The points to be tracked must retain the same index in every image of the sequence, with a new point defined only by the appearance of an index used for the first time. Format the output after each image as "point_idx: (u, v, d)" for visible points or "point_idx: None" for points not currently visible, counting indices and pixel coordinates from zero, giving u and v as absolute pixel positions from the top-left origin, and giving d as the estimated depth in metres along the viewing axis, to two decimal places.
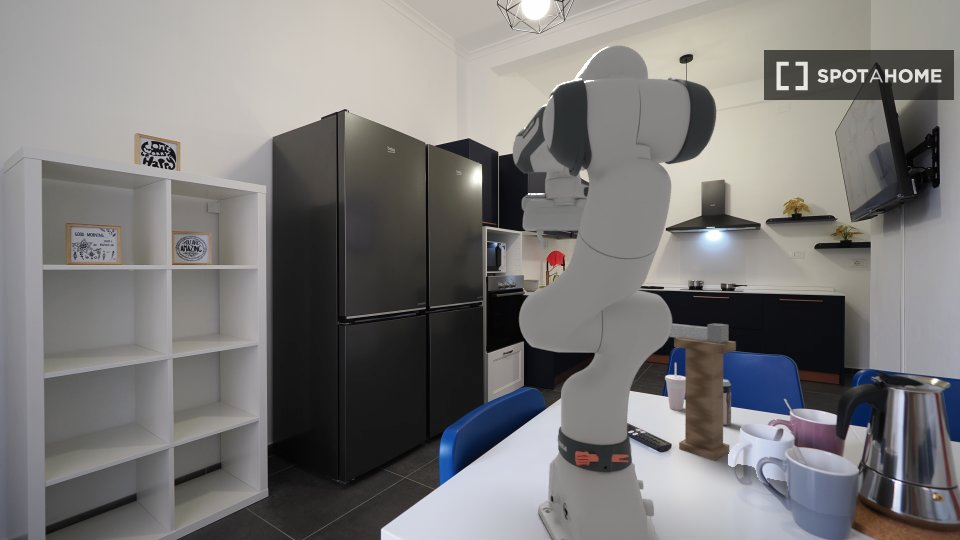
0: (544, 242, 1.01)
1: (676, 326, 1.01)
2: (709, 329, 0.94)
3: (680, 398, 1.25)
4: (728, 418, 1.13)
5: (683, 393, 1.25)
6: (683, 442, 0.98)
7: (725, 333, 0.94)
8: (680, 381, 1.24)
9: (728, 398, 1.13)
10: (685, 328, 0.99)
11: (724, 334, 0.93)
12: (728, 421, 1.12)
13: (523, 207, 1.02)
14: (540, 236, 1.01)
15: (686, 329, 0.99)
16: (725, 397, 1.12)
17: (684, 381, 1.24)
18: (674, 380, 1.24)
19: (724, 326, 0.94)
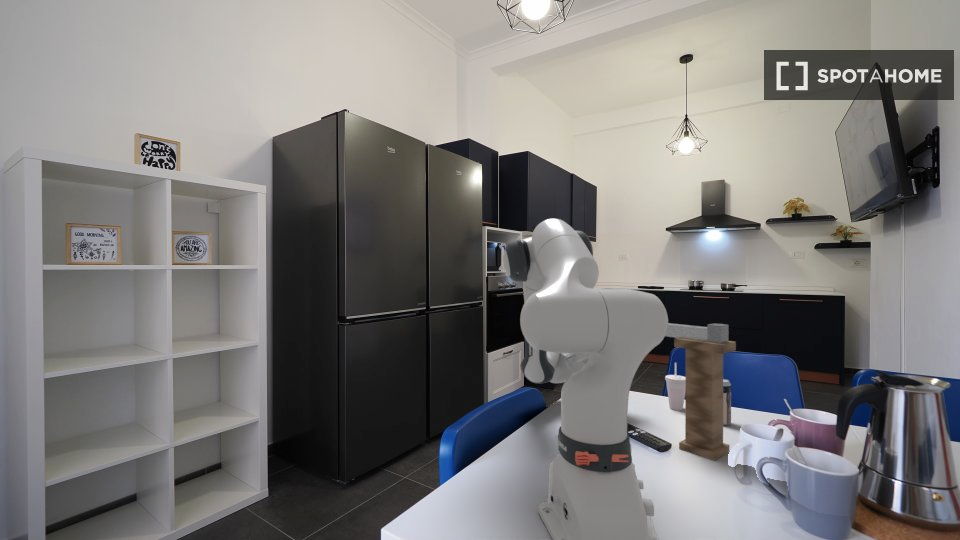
0: None
1: (676, 326, 1.01)
2: (709, 329, 0.94)
3: (680, 398, 1.25)
4: (728, 418, 1.13)
5: (683, 393, 1.25)
6: (683, 442, 0.98)
7: (725, 333, 0.94)
8: (680, 381, 1.24)
9: (728, 398, 1.13)
10: (685, 328, 0.99)
11: (724, 334, 0.93)
12: (728, 421, 1.12)
13: (571, 355, 1.16)
14: None
15: (686, 329, 0.99)
16: (725, 397, 1.12)
17: (684, 381, 1.24)
18: (674, 380, 1.24)
19: (724, 326, 0.94)
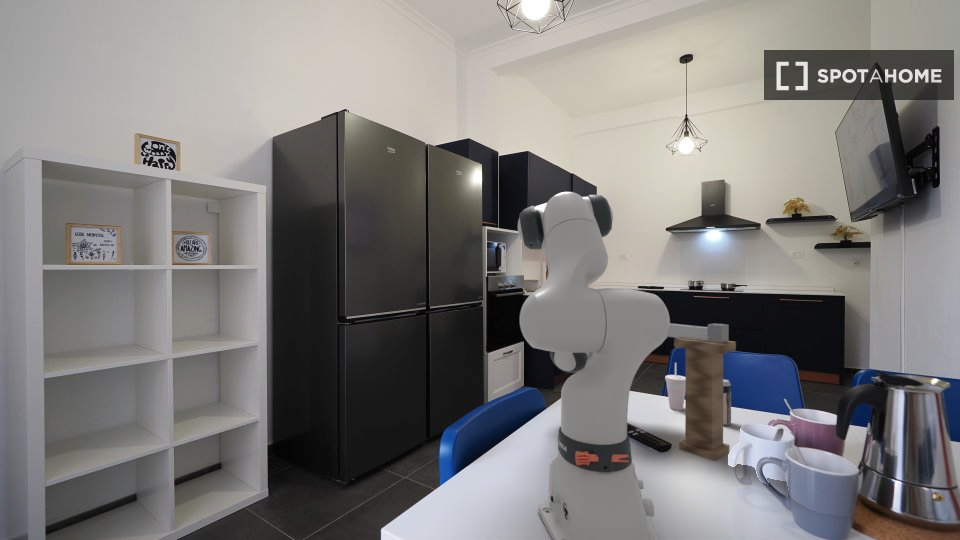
0: None
1: (676, 326, 1.01)
2: (709, 329, 0.94)
3: (680, 398, 1.25)
4: (728, 418, 1.13)
5: (683, 393, 1.25)
6: (683, 442, 0.98)
7: (725, 333, 0.94)
8: (680, 381, 1.24)
9: (728, 398, 1.13)
10: (685, 328, 0.99)
11: (724, 334, 0.94)
12: (728, 421, 1.12)
13: None
14: None
15: (686, 329, 0.99)
16: (725, 397, 1.12)
17: (684, 381, 1.24)
18: (674, 380, 1.24)
19: (724, 326, 0.94)
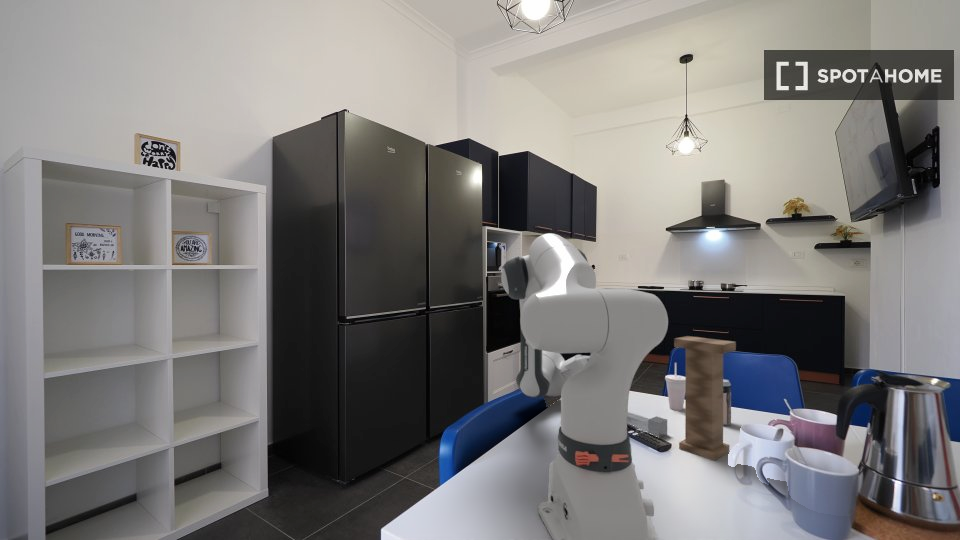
0: None
1: None
2: (649, 424, 1.06)
3: (680, 398, 1.25)
4: (728, 418, 1.13)
5: (683, 393, 1.25)
6: (683, 442, 0.98)
7: (664, 428, 1.05)
8: (680, 381, 1.24)
9: (728, 398, 1.13)
10: (630, 418, 1.10)
11: (662, 429, 1.05)
12: (728, 421, 1.12)
13: (566, 369, 1.17)
14: None
15: (631, 420, 1.10)
16: (725, 397, 1.12)
17: (684, 381, 1.24)
18: (674, 380, 1.24)
19: (662, 422, 1.05)
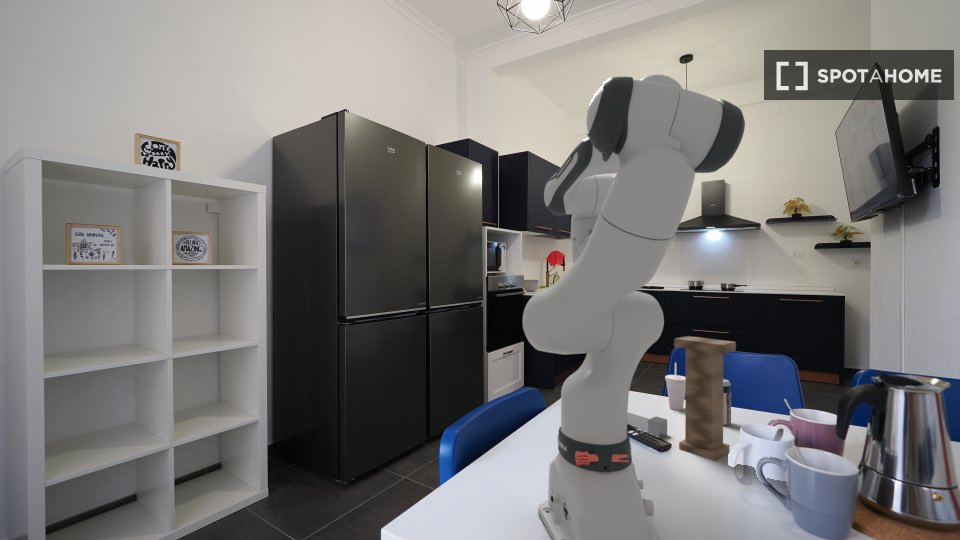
0: None
1: None
2: (649, 424, 1.06)
3: (680, 398, 1.25)
4: (728, 418, 1.13)
5: (683, 393, 1.25)
6: (683, 442, 0.98)
7: (664, 428, 1.05)
8: (680, 381, 1.24)
9: (728, 398, 1.13)
10: (630, 418, 1.10)
11: (662, 429, 1.05)
12: (728, 421, 1.12)
13: None
14: None
15: (631, 420, 1.10)
16: (725, 397, 1.12)
17: (684, 381, 1.24)
18: (674, 380, 1.24)
19: (662, 422, 1.05)
